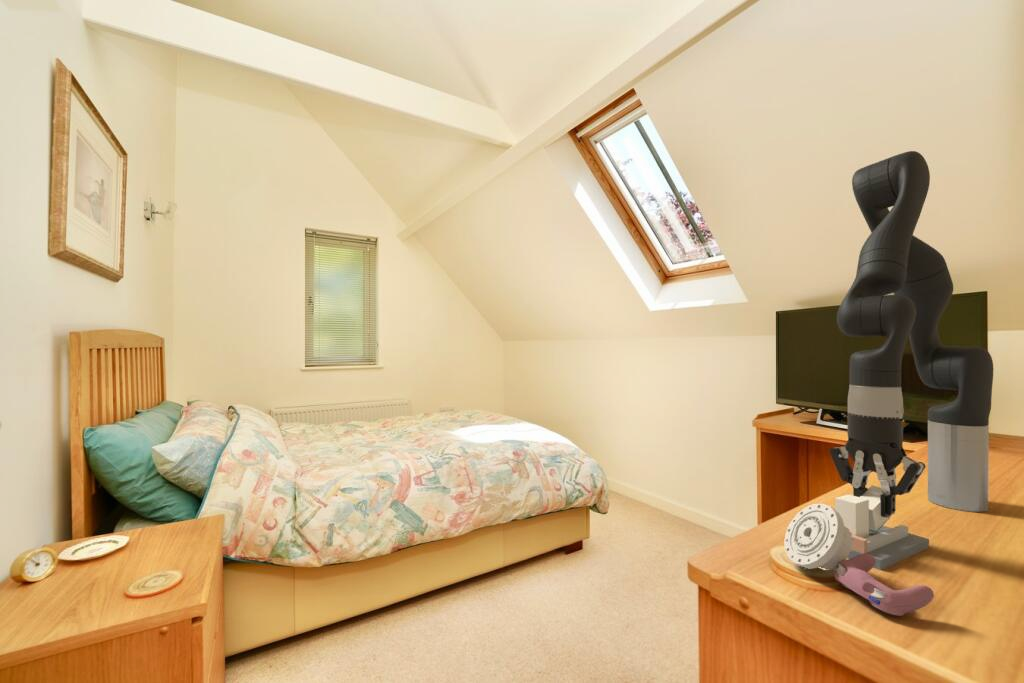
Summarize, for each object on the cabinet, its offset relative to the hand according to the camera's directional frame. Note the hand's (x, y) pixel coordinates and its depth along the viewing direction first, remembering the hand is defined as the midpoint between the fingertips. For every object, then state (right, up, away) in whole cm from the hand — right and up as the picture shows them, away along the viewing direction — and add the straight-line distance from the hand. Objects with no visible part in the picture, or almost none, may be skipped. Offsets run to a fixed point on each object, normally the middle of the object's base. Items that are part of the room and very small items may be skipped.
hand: (874, 512), depth 80 cm
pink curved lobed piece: (-10, -3, -18) cm, 21 cm away
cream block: (+3, +2, +2) cm, 4 cm away
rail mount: (-2, -5, -1) cm, 6 cm away
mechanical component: (-18, -4, -8) cm, 20 cm away
